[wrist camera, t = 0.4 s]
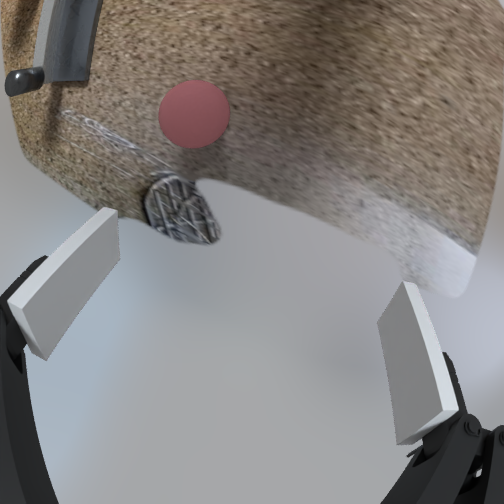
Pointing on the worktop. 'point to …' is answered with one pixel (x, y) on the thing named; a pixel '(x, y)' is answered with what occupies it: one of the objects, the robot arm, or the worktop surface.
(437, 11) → the worktop surface
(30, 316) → the robot arm
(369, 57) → the worktop surface
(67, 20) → the base
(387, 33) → the worktop surface
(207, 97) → the light bulb
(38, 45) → the lever
